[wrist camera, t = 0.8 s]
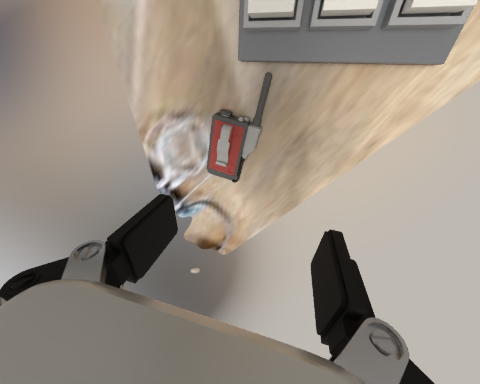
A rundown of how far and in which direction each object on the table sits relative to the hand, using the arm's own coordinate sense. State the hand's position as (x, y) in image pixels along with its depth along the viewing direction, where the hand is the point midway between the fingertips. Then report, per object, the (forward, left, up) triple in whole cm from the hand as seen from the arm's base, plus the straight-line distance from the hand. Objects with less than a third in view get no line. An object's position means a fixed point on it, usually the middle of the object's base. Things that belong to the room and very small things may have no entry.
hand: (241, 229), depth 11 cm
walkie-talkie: (0, -7, -26) cm, 27 cm away
